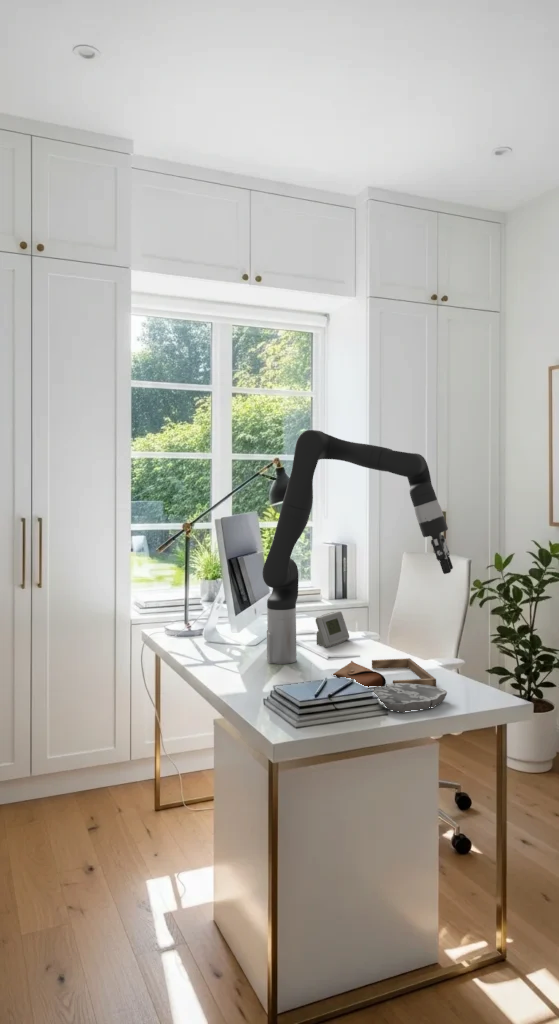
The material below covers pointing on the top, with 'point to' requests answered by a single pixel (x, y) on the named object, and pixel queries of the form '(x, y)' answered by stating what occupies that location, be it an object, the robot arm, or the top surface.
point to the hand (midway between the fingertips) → (448, 571)
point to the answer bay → (401, 663)
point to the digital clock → (331, 629)
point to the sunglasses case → (361, 675)
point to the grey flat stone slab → (409, 696)
